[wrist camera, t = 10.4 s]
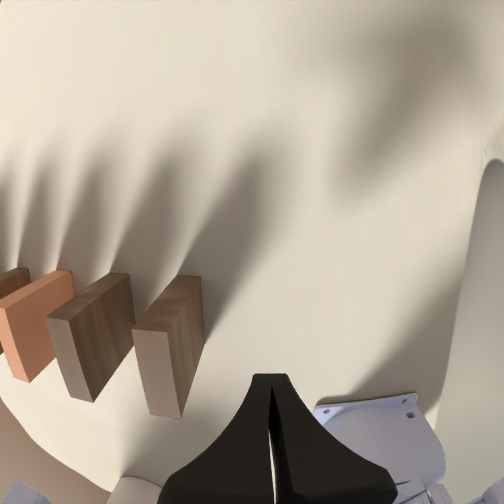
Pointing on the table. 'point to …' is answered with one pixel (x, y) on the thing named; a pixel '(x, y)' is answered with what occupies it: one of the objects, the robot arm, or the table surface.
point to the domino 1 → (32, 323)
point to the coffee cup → (134, 492)
